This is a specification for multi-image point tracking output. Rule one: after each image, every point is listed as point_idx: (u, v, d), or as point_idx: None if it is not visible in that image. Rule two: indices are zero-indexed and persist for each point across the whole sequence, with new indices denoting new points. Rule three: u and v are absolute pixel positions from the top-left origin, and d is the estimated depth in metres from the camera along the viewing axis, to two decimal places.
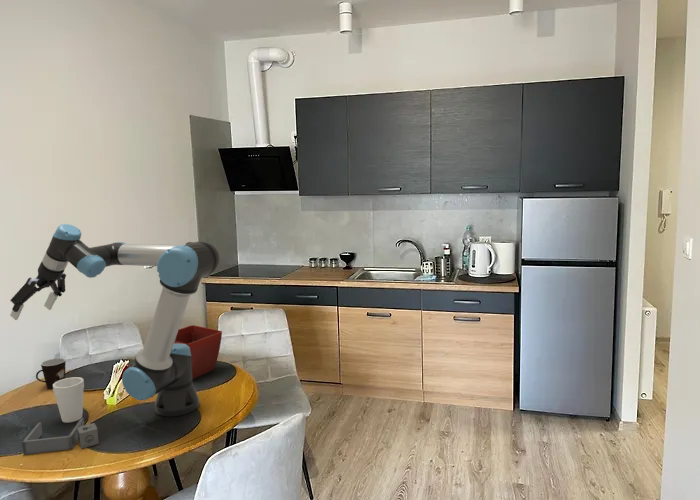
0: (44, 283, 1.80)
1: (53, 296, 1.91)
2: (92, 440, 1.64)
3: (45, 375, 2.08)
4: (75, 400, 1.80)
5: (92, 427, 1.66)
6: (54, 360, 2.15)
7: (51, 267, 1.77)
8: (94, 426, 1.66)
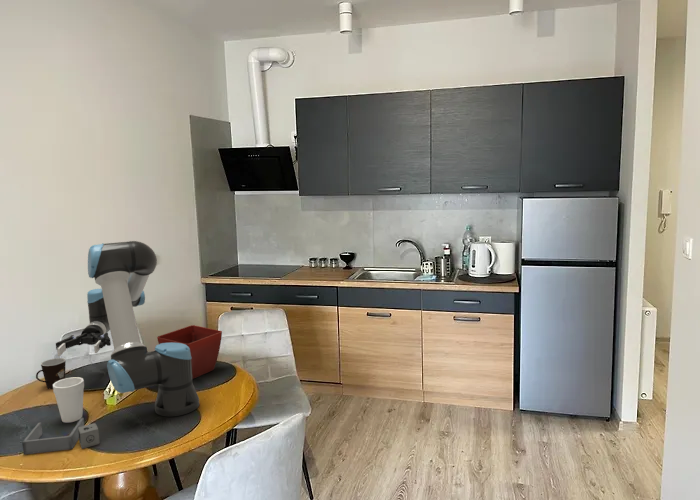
0: None
1: None
2: (93, 440, 1.64)
3: (45, 375, 2.08)
4: (75, 400, 1.80)
5: (93, 427, 1.66)
6: (54, 360, 2.15)
7: None
8: (95, 426, 1.66)
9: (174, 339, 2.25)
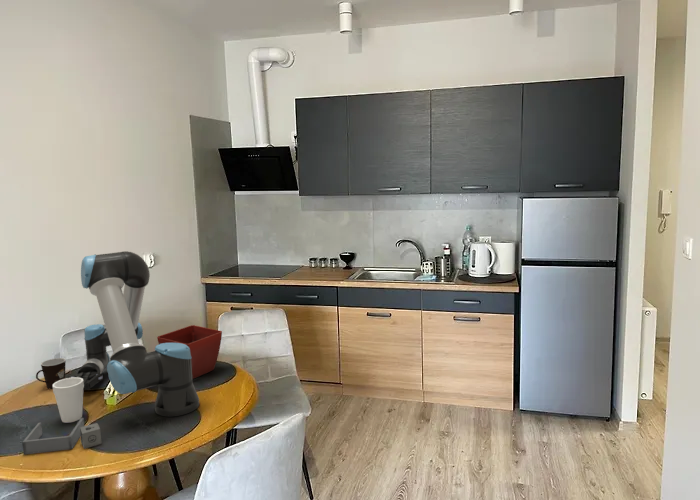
0: None
1: None
2: (95, 440, 1.64)
3: (45, 375, 2.08)
4: (75, 400, 1.80)
5: (95, 427, 1.66)
6: (54, 360, 2.15)
7: None
8: (97, 426, 1.66)
9: (174, 339, 2.25)
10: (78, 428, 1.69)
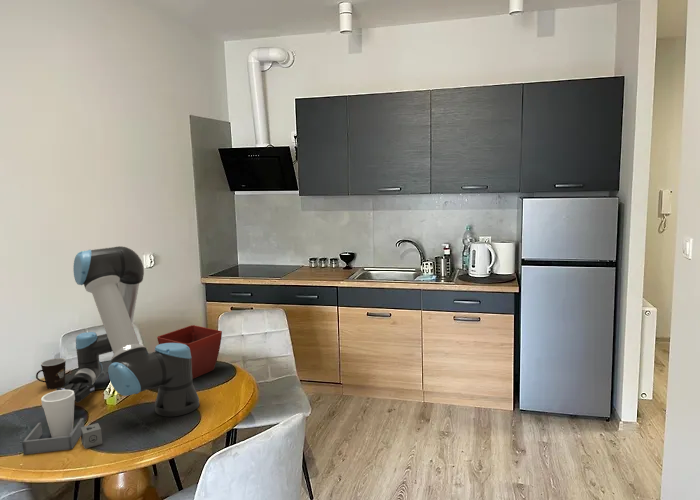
0: None
1: None
2: (96, 440, 1.64)
3: (45, 375, 2.08)
4: (65, 414, 1.69)
5: (96, 427, 1.66)
6: (54, 360, 2.15)
7: None
8: (98, 426, 1.66)
9: (174, 339, 2.25)
10: (78, 428, 1.69)
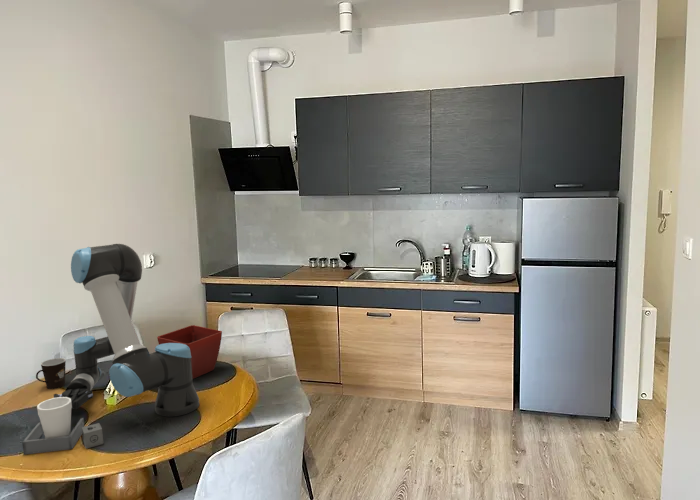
0: None
1: None
2: (97, 440, 1.64)
3: (45, 375, 2.08)
4: (62, 423, 1.63)
5: (97, 427, 1.66)
6: (54, 360, 2.15)
7: (71, 381, 1.94)
8: (99, 426, 1.66)
9: (174, 339, 2.25)
10: (78, 428, 1.69)
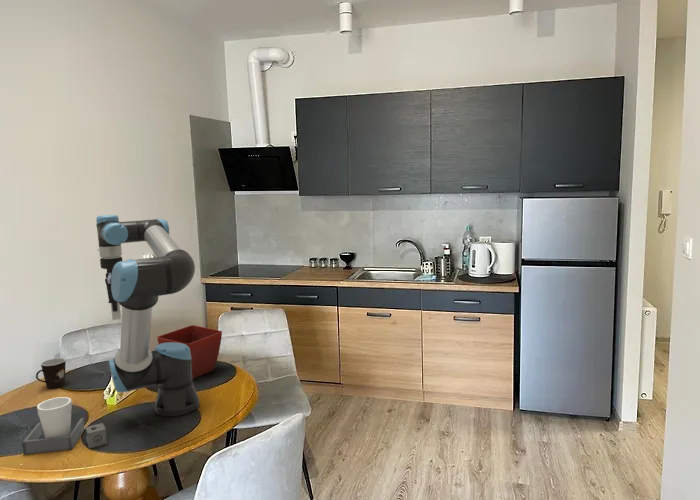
0: None
1: None
2: (100, 440, 1.64)
3: (45, 375, 2.08)
4: (62, 423, 1.63)
5: (100, 427, 1.66)
6: (54, 360, 2.15)
7: (114, 254, 1.93)
8: (102, 426, 1.66)
9: (174, 339, 2.25)
10: (78, 428, 1.69)
